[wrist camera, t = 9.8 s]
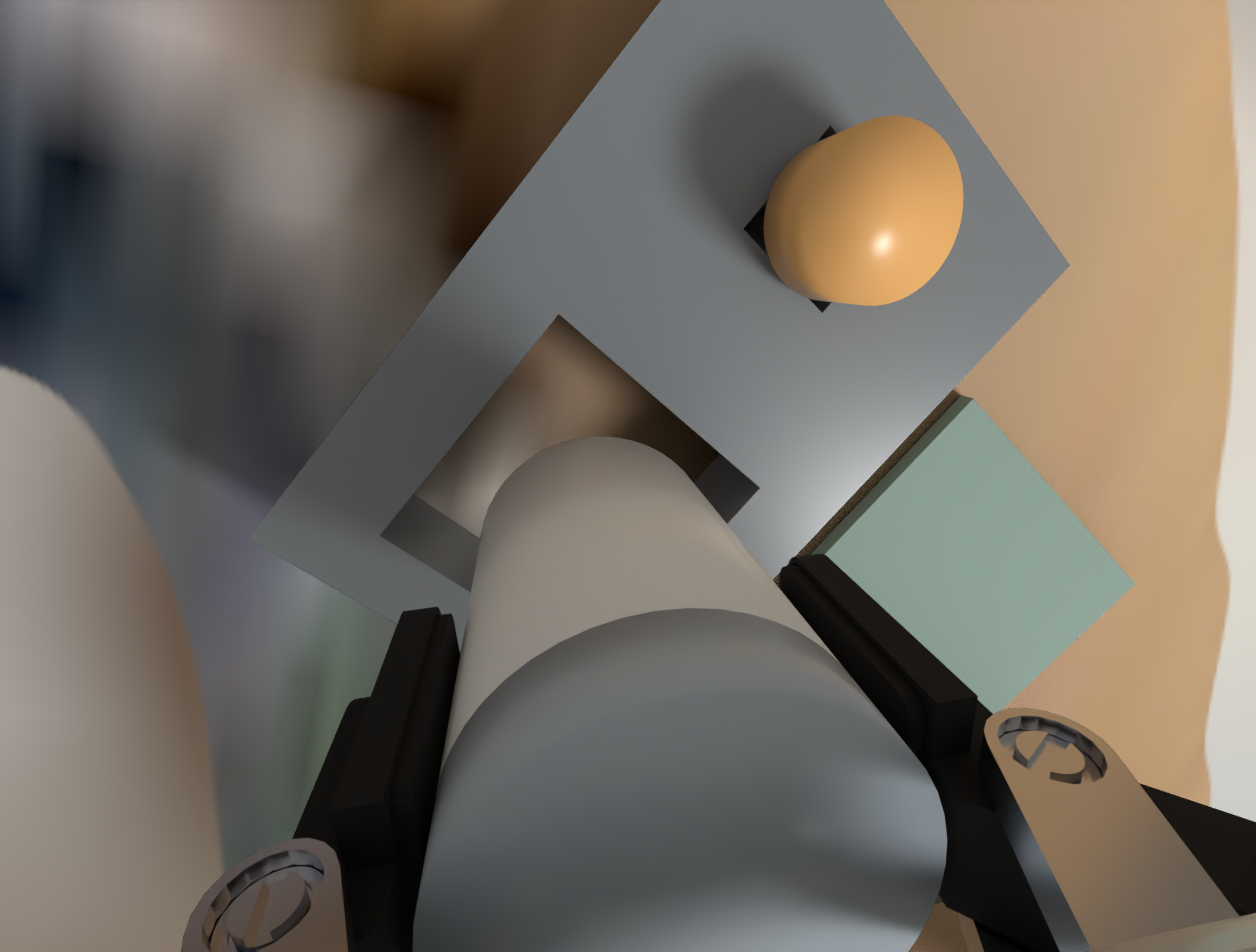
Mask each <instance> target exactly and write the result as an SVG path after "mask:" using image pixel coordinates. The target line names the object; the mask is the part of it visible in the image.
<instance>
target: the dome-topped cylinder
mask: <svg viewBox="0 0 1256 952" xmlns="http://www.w3.org/2000/svg"><path fill="white" fill-rule="evenodd" d="M946 852H947V832H946V823H945V815H944V811H943V808H942V805H941V801H940V798H939V795H938V792H937V790H936V788H935V786H934V784H933V782H932V780H931V778H930V776H929V774H928V772H927V770H926V769H925V768H924V766H923V765H922V764H921V762H920V761H919V760H918V759H917V757H916V756H915V755H914V753H913V752H912V751H911V750H910V748H909V747H908V746H907V745H906V743H905V742H904V741H903V740H902V739H901V737H900V736H899V735H898V734H897V732H896V731H895V730H894V729H893V728H892V726H891V725H890V724H889V723H888V721H887V720H886V719H885V718H884V716H883V715H882V714H881V713H880V712H879V710H878V709H877V708H876V707H875V705H874V704H873V703H872V702H871V700H870V699H869V698H868V697H867V696H866V694H865V693H864V692H863V691H862V689H861V688H860V687H859V686H858V684H857V683H856V682H855V681H854V680H853V678H852V677H851V676H850V675H849V673H848V672H847V671H846V670H845V669H844V667H843V666H842V665H841V664H840V662H839V661H838V660H837V659H836V657H835V656H834V655H833V654H832V653H831V651H830V650H829V649H828V648H827V646H826V645H825V644H824V643H823V641H822V640H821V639H820V638H819V637H818V635H817V634H816V633H815V632H814V630H813V629H812V628H811V627H810V625H809V624H808V623H807V622H806V621H805V619H804V618H803V617H802V616H801V614H800V613H799V612H798V611H797V609H796V608H795V607H794V606H793V605H792V603H791V602H790V601H789V600H788V598H787V597H786V596H785V595H784V594H783V592H782V591H781V590H780V589H779V587H778V586H777V585H776V584H775V582H774V581H773V580H772V579H771V578H770V576H769V575H768V574H767V573H766V571H765V570H764V569H763V568H762V566H761V565H760V564H759V563H758V562H757V560H756V559H755V558H754V557H753V555H752V554H751V553H750V552H749V550H748V549H747V548H746V547H745V546H744V544H743V543H742V542H741V541H740V539H739V538H738V537H737V536H736V535H735V533H734V532H733V531H732V530H731V528H730V527H729V526H728V525H727V523H726V522H725V521H724V520H723V519H722V517H721V516H720V515H719V514H718V512H717V511H716V510H715V509H714V507H713V506H712V505H711V504H710V503H709V501H708V500H707V499H706V498H705V496H704V495H703V494H702V493H701V491H700V490H699V489H698V488H697V487H696V485H695V484H694V483H693V482H692V480H691V479H690V478H689V477H688V476H687V474H686V473H685V472H684V471H683V470H682V469H681V468H680V467H679V466H678V465H677V464H676V463H675V462H674V461H672V460H671V459H670V458H668V457H667V456H665V455H664V454H663V453H661V452H659V451H657V450H655V449H653V448H651V447H649V446H647V445H644V444H641V443H639V442H636V441H632V440H627V439H623V438H616V437H604V436H603V437H586V438H580V439H574V440H570V441H567V442H563V443H560V444H557V445H555V446H552V447H550V448H548V449H546V450H543V451H541V452H540V453H538V454H537V455H535V456H533V457H532V458H530V459H528V460H527V461H526V462H525V463H523V464H522V465H521V466H520V467H518V468H517V469H516V470H515V471H514V472H513V473H512V474H511V475H510V476H509V477H508V478H507V479H506V481H505V482H504V483H503V485H502V486H501V487H500V489H499V490H498V491H497V493H496V495H495V496H494V498H493V500H492V502H491V504H490V506H489V508H488V511H487V514H486V516H485V519H484V523H483V528H482V532H481V538H480V543H479V549H478V555H477V561H476V566H475V572H474V578H473V584H472V590H471V595H470V601H469V607H468V613H467V618H466V624H465V630H464V636H463V641H462V647H461V653H460V659H459V664H458V670H457V676H456V682H455V687H454V693H453V699H452V705H451V710H450V716H449V722H448V728H447V733H446V739H445V745H444V751H443V757H442V762H441V768H440V774H439V780H438V785H437V791H436V797H435V803H434V808H433V814H432V820H431V826H430V831H429V837H428V843H427V849H426V854H425V860H424V866H423V872H422V877H421V883H420V889H419V895H418V901H417V906H416V912H415V918H414V924H413V952H908V951H909V950H910V949H911V947H912V946H913V944H914V943H915V941H916V940H917V938H918V937H919V935H920V933H921V931H922V929H923V927H924V926H925V924H926V922H927V920H928V918H929V916H930V914H931V912H932V909H933V907H934V904H935V901H936V899H937V896H938V893H939V891H940V888H941V883H942V879H943V874H944V870H945V865H946Z"/></svg>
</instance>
